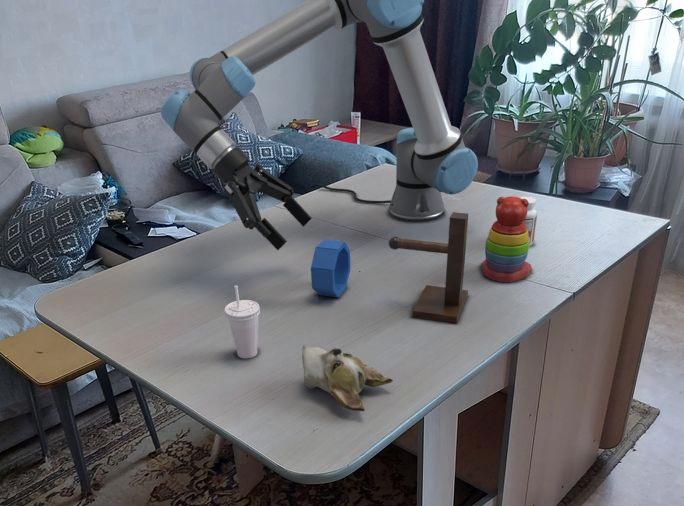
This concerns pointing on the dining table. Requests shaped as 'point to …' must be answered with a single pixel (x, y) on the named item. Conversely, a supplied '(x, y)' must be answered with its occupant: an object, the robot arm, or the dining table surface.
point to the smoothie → (243, 325)
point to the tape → (330, 268)
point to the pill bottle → (530, 218)
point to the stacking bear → (508, 242)
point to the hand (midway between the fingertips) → (295, 234)
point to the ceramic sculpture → (339, 375)
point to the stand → (451, 297)
